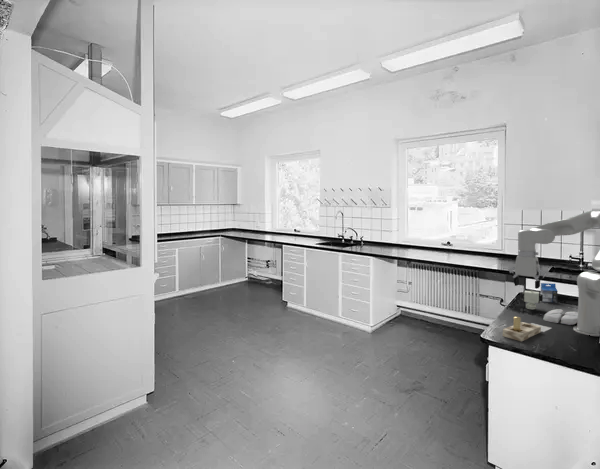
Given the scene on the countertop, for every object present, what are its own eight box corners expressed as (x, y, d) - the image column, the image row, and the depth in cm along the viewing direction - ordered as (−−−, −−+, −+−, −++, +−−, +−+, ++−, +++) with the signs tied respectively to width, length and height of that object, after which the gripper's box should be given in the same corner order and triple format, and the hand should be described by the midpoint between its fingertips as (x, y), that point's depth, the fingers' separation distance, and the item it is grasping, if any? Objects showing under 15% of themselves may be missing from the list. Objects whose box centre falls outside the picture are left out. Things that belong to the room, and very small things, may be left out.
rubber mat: (552, 328, 191) (552, 328, 191) (543, 332, 185) (543, 331, 185) (531, 323, 199) (531, 323, 199) (522, 327, 194) (522, 326, 194)
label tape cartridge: (541, 302, 243) (542, 284, 242) (539, 300, 247) (540, 283, 246) (557, 303, 240) (557, 284, 239) (554, 301, 244) (555, 283, 243)
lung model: (540, 321, 204) (549, 315, 222) (578, 328, 192) (584, 321, 210) (541, 309, 204) (550, 304, 222) (579, 316, 192) (585, 310, 209)
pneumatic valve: (542, 311, 222) (542, 292, 221) (520, 308, 229) (520, 289, 228) (542, 309, 227) (542, 290, 226) (520, 306, 233) (521, 288, 232)
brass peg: (521, 337, 180) (521, 317, 179) (518, 338, 178) (518, 318, 177) (514, 335, 182) (515, 316, 181) (511, 336, 180) (512, 317, 180)
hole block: (540, 333, 185) (540, 326, 184) (521, 341, 174) (521, 334, 173) (522, 328, 192) (522, 321, 192) (502, 336, 181) (502, 329, 181)
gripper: (549, 254, 179) (548, 288, 180) (512, 251, 193) (512, 283, 194) (542, 256, 174) (542, 290, 176) (505, 253, 188) (505, 285, 190)
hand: (526, 286), depth 185 cm, fingers open, 9 cm apart
